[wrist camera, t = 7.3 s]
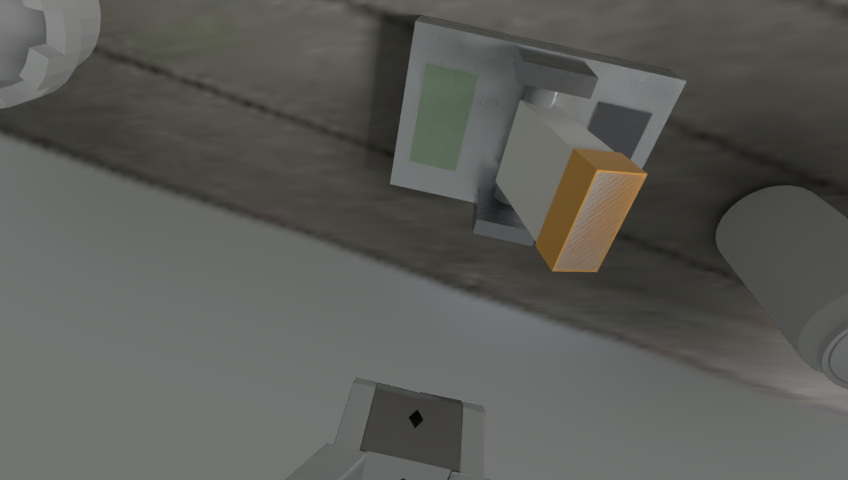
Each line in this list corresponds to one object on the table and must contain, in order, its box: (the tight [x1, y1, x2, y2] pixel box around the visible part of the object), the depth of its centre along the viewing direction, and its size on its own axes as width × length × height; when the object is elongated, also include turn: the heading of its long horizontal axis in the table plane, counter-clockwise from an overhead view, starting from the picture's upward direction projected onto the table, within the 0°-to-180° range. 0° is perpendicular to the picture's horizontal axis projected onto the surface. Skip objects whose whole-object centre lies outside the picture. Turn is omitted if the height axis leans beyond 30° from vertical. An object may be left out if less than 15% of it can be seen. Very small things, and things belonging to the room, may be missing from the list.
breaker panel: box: [390, 15, 686, 246], centre depth 26 cm, size 15×10×6 cm, turn 79°
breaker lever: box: [494, 86, 647, 272], centre depth 23 cm, size 2×7×9 cm, turn 170°
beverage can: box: [716, 185, 848, 389], centre depth 26 cm, size 6×6×12 cm
